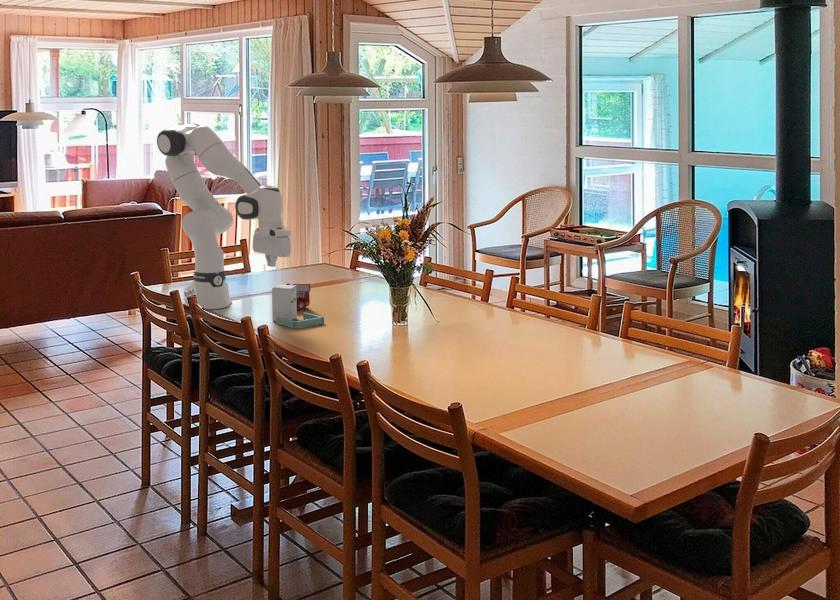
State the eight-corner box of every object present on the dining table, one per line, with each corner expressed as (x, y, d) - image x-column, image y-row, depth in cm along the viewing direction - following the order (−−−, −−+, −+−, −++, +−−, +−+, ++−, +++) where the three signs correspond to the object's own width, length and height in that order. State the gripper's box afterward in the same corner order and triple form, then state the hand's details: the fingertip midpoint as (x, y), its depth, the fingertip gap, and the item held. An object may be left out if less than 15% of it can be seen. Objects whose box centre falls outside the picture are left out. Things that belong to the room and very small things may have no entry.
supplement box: (291, 322, 346) (290, 288, 344) (271, 321, 348) (271, 287, 345) (297, 318, 353) (297, 285, 351) (278, 317, 355) (278, 284, 352)
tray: (276, 323, 343) (276, 317, 343) (305, 318, 352) (305, 312, 352) (295, 329, 335) (294, 322, 335) (324, 323, 344) (324, 317, 343)
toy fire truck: (280, 307, 373) (279, 281, 371) (311, 307, 373) (311, 281, 371) (278, 311, 366) (277, 284, 364) (309, 311, 366) (309, 284, 364)
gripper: (248, 227, 355) (248, 263, 358) (279, 233, 341) (279, 270, 343) (262, 226, 359) (262, 262, 362) (293, 231, 345) (294, 268, 348)
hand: (271, 266), depth 353 cm, fingers closed
